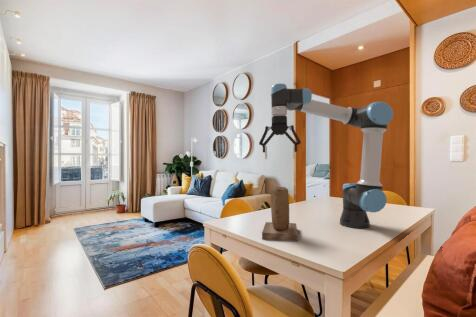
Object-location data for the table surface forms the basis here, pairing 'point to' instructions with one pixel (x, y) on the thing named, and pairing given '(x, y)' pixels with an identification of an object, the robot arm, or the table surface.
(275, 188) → the block
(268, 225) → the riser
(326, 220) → the table surface
